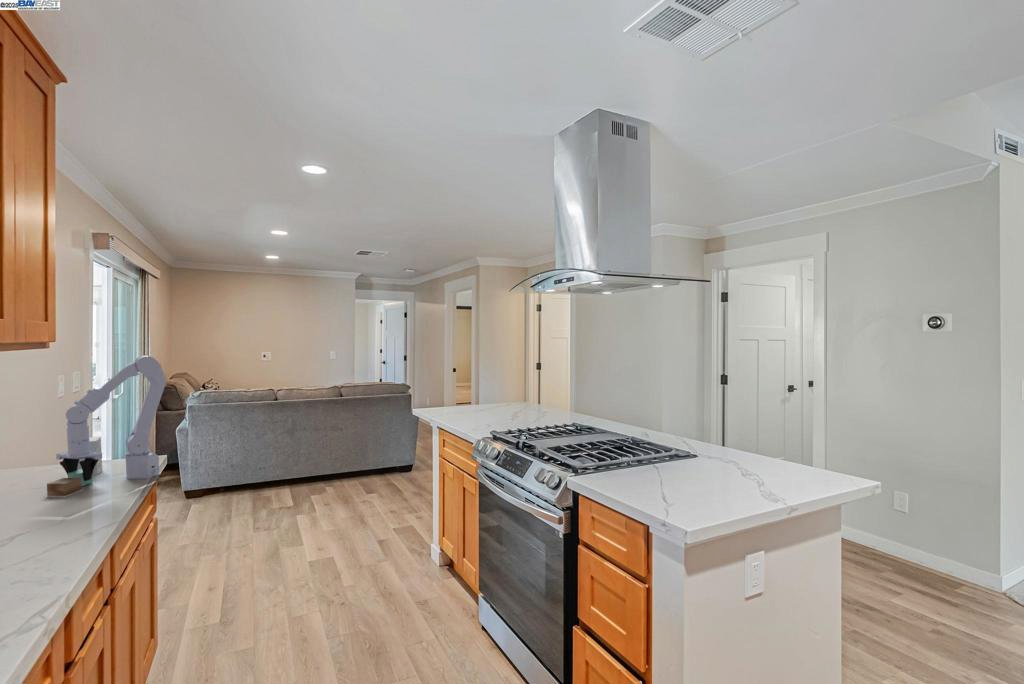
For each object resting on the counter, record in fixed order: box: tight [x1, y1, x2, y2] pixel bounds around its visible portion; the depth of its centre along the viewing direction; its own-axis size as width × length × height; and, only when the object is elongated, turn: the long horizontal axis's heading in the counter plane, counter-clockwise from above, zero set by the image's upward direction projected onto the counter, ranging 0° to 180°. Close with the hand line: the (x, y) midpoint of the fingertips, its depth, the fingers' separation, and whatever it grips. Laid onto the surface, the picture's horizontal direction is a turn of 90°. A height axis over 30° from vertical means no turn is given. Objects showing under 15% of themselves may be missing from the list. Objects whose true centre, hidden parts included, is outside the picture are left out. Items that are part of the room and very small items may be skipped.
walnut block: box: [46, 477, 83, 497], centre depth 169 cm, size 6×6×4 cm
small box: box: [77, 436, 103, 476], centre depth 193 cm, size 8×6×13 cm
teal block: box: [67, 469, 94, 487], centre depth 177 cm, size 4×4×4 cm
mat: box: [44, 488, 85, 498], centre depth 169 cm, size 16×9×1 cm, turn 88°
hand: (80, 480), depth 177 cm, fingers closed on teal block, 4 cm apart
